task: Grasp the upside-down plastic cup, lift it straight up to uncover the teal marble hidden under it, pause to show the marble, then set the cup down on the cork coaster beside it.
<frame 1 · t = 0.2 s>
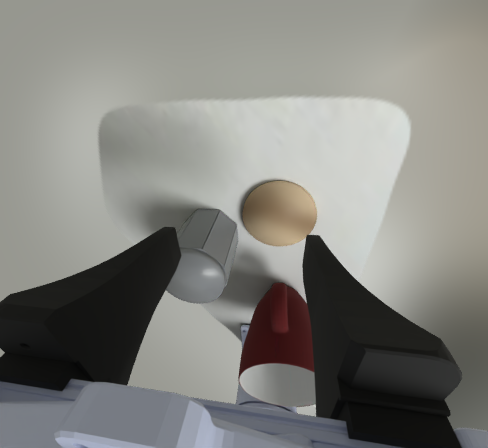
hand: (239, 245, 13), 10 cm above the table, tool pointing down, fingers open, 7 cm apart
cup: (211, 232, 25), on the table
mug: (280, 288, 28), on the table
coaster: (278, 214, 22), on the table
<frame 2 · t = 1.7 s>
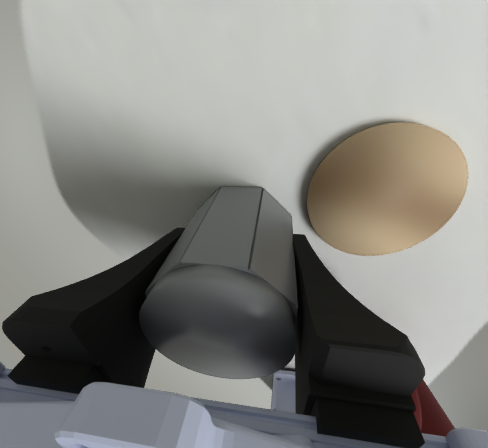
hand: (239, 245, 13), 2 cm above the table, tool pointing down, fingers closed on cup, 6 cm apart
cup: (243, 229, 14), on the table, touching gripper
mug: (347, 321, 17), on the table
coaster: (377, 196, 12), on the table
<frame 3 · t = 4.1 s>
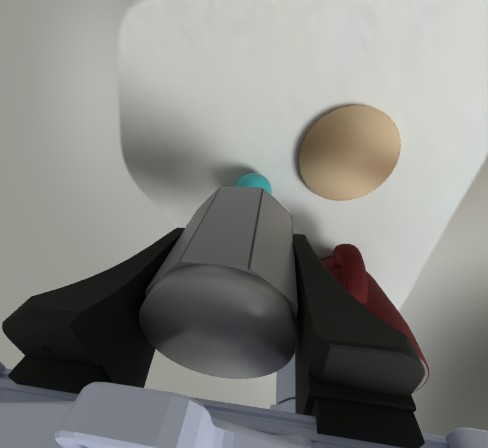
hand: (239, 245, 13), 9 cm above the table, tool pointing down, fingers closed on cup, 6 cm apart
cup: (243, 229, 14), point 7 cm above the table, touching gripper
marble: (252, 191, 19), on the table
mug: (331, 260, 23), on the table
coaster: (346, 156, 18), on the table
when the fingers open (4 cm above the table, at t = 6.3 s): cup drops 1 cm, resting on coaster.
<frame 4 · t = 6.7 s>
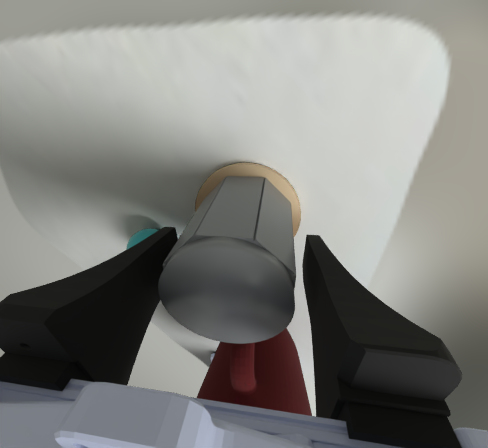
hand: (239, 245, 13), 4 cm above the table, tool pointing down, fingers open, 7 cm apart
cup: (246, 216, 15), resting on coaster
marble: (149, 249, 17), on the table
mug: (257, 310, 21), on the table
coaster: (247, 213, 16), on the table
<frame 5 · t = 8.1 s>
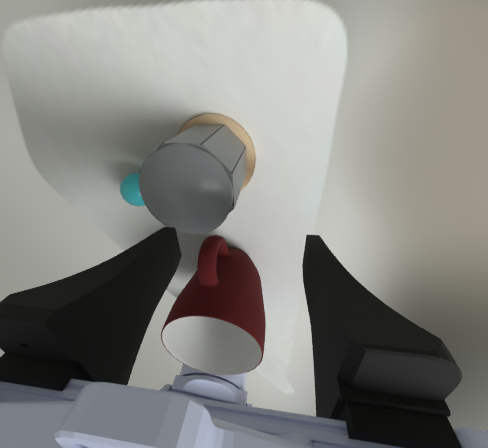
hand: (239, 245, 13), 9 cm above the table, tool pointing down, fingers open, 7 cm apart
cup: (213, 159, 19), resting on coaster
marble: (138, 189, 21), on the table
mug: (230, 252, 26), on the table
coaster: (215, 158, 20), on the table
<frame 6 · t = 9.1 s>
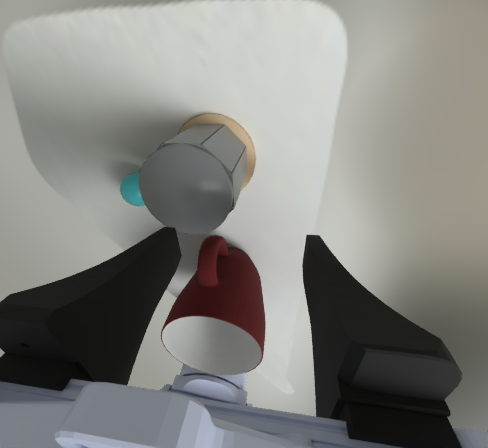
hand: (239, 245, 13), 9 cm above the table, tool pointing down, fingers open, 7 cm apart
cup: (213, 159, 19), resting on coaster
marble: (138, 189, 21), on the table
mug: (230, 252, 26), on the table
coaster: (215, 158, 20), on the table
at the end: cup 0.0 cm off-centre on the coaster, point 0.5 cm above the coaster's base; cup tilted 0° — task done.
